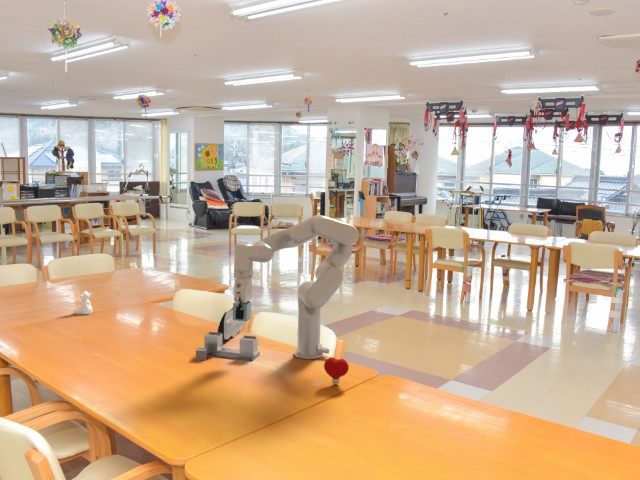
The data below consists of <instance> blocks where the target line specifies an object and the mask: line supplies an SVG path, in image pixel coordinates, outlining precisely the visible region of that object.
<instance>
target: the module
mask: <svg viewBox="0 0 640 480" xmlns="http://www.w3.org/2000/svg"><path fill="white" fill-rule="evenodd" d="M239 302H242V301H241V300H239ZM239 304H240V303H239ZM240 305H241V304H240ZM232 308H233V320H237V321H244V322H248V321H250V320H251V318H252V316H251V315H252V301H251V300H249V301H248V302H246V303H244V304H243V310H244V315H243V319H236V318H235V317H236V305H235V301H234V302H233V303H232Z"/></svg>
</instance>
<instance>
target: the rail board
mask: <svg viewBox="0 0 640 480" xmlns="http://www.w3.org/2000/svg"><path fill="white" fill-rule="evenodd" d="M217 332H218V331H217ZM217 332H215V331H214V332H213V331H209V332H208V333H206V334H205V335H203V337H204V341H203V348H207V357H215V358H216V357H217V358H225V359H231V360H232V359H234V360H243V361H250V362H253V361H255V360H256V359H257V358H258V357H259V356H260V355H261V353H260V351H258V345H259V344H258V336H254V335H243V336H242V337H240V339H239V349H237V348H229V347H223V339H222V334H221V333H217Z"/></svg>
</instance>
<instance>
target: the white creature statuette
mask: <svg viewBox="0 0 640 480" xmlns="http://www.w3.org/2000/svg"><path fill="white" fill-rule="evenodd" d="M92 293H93V292H88V291H86V290H85V291H82V292H81V294H80V299H81V302H80V308H76V309H73V314H74V315H85V316H86V315H87V316H88V315H91V314H93V308H94V307H92V303H91V301H90V300H89V299H90V296H92V295H93V294H92Z"/></svg>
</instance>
